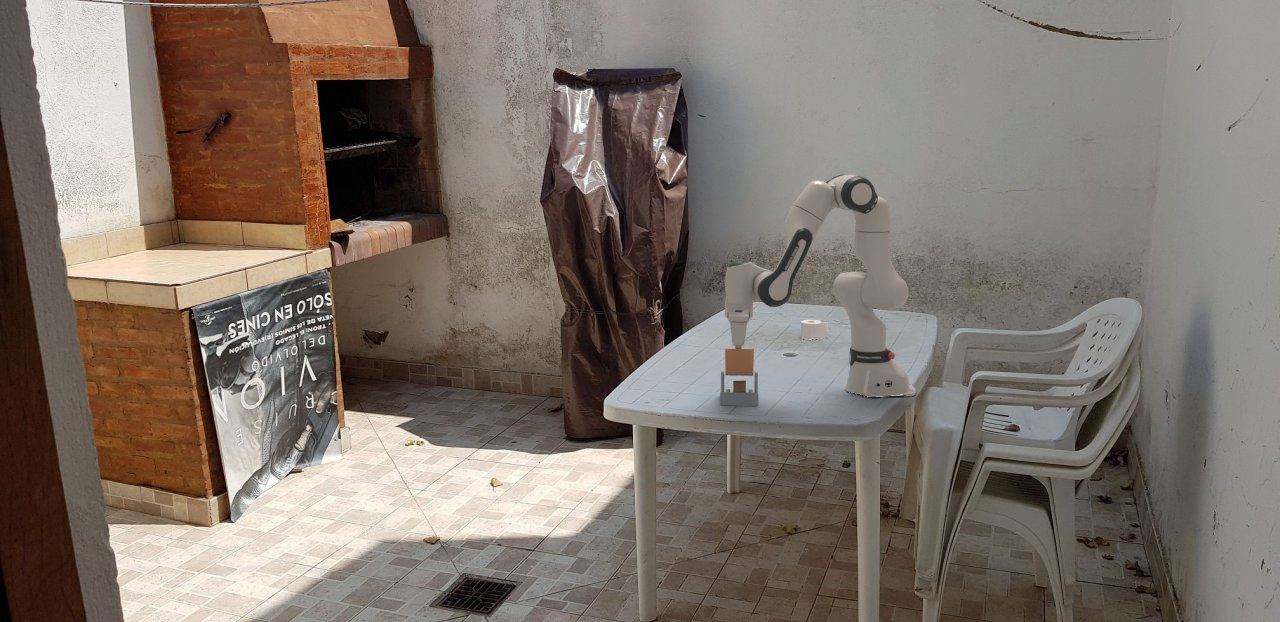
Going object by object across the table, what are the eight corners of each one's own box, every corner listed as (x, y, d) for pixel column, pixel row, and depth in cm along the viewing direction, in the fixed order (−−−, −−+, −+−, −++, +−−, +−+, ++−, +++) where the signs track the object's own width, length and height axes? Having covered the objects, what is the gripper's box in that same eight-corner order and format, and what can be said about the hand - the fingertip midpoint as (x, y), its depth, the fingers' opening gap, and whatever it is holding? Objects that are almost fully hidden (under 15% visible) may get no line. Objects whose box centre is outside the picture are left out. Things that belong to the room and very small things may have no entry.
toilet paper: (829, 337, 402) (830, 320, 400) (813, 341, 394) (813, 324, 393) (813, 334, 408) (813, 317, 406) (796, 338, 400) (797, 321, 399)
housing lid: (753, 376, 317) (753, 374, 318) (753, 350, 309) (753, 348, 310) (725, 376, 318) (725, 374, 319) (725, 350, 310) (725, 348, 311)
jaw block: (745, 399, 310) (745, 384, 309) (733, 399, 311) (733, 383, 310) (745, 395, 314) (745, 380, 313) (733, 395, 315) (733, 380, 314)
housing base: (757, 396, 319) (757, 371, 318) (758, 405, 309) (758, 380, 307) (720, 395, 320) (720, 371, 319) (720, 405, 310) (720, 380, 308)
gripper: (729, 305, 321) (729, 346, 324) (728, 317, 301) (727, 361, 304) (748, 305, 321) (748, 346, 323) (748, 317, 301) (748, 361, 303)
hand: (738, 353), depth 313 cm, fingers closed
